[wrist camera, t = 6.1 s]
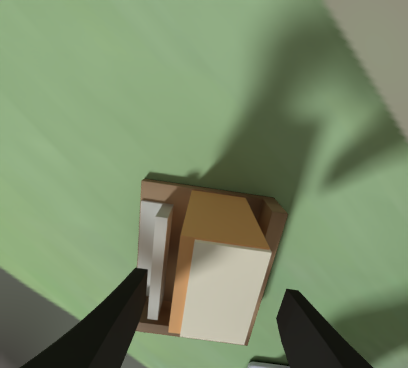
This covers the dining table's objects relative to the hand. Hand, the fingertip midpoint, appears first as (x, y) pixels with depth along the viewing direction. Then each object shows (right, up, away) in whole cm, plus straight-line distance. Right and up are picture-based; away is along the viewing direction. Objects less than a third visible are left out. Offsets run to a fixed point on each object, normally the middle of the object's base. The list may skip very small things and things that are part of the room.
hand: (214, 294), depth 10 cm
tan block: (0, +2, +5) cm, 6 cm away
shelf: (-1, 0, +7) cm, 7 cm away
